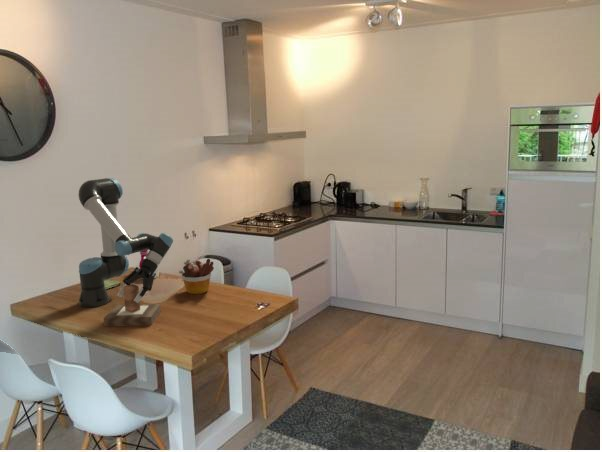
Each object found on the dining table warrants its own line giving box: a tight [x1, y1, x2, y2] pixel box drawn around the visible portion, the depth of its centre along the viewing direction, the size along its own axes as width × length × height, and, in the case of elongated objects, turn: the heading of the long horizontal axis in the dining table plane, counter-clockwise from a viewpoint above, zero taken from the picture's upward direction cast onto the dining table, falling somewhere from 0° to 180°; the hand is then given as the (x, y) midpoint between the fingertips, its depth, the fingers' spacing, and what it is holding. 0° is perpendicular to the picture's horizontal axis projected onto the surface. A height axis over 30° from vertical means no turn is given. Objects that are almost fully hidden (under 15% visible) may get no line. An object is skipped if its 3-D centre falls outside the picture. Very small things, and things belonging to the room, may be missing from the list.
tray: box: [103, 303, 162, 327], centre depth 255 cm, size 22×18×4 cm
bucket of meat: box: [178, 258, 215, 295], centre depth 294 cm, size 20×16×20 cm
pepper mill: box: [138, 250, 149, 269], centre depth 336 cm, size 7×7×20 cm
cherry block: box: [123, 283, 141, 313], centre depth 254 cm, size 5×5×12 cm
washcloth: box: [104, 279, 122, 291], centre depth 310 cm, size 13×18×3 cm
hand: (127, 299), depth 252 cm, fingers open, 13 cm apart
